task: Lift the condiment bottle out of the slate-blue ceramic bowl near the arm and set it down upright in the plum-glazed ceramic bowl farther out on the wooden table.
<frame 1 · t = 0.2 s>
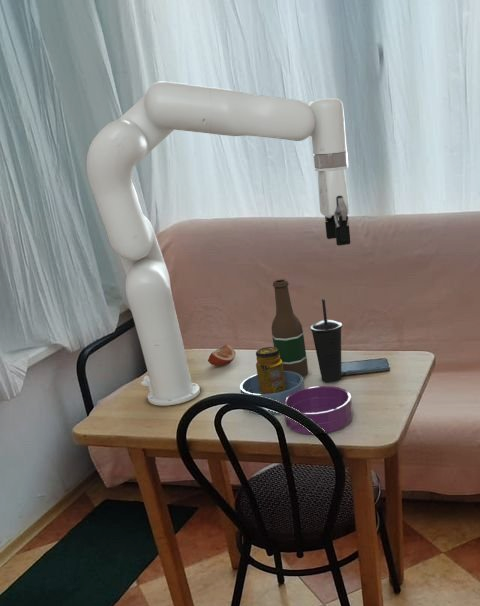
hand: (338, 241, 149), 31 cm above the table, tool pointing down, fingers open, 9 cm apart
plum bowl: (319, 420, 136), on the table
condiment: (274, 401, 147), resting on slate bowl
beer bottle: (293, 375, 161), on the table
fruit slice: (223, 365, 172), on the table
slate bowl: (274, 402, 147), on the table
drinking cup: (331, 379, 157), on the table
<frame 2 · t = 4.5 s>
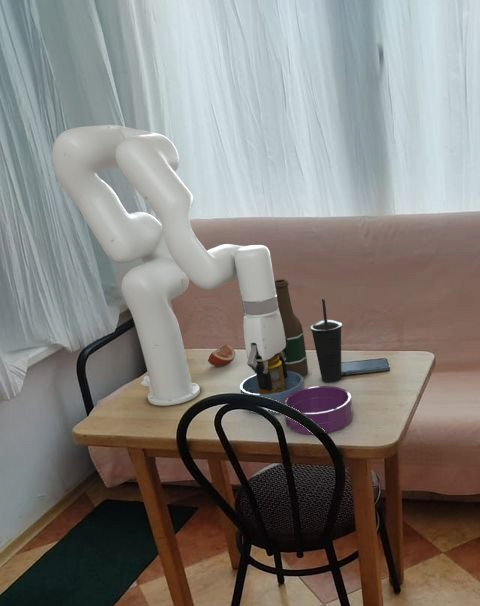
hand: (273, 382, 144), 5 cm above the table, tool pointing down, fingers closed on condiment, 6 cm apart
condiment: (273, 402, 146), resting on slate bowl, touching gripper
everything else where it was.
when the fingers open (5 cm above the table, at t = 11.4 s): condiment stays where it is, resting on plum bowl.
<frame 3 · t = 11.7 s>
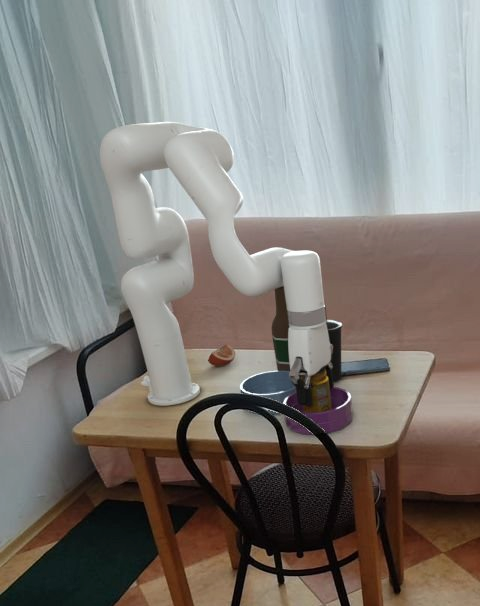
hand: (316, 395, 133), 6 cm above the table, tool pointing down, fingers open, 9 cm apart
condiment: (318, 420, 136), resting on plum bowl
everything else where it was.
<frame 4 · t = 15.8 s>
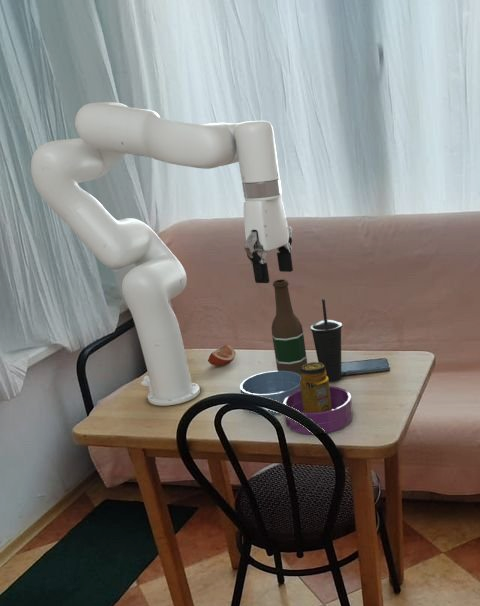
hand: (274, 276, 134), 28 cm above the table, tool pointing down, fingers open, 9 cm apart
nothing on the table moved.
at the end: condiment inside the target area in the plum bowl (0.6 cm from its centre), point 0.2 cm above the plum bowl's base; condiment tilted 0°; the gripper is holding nothing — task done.
